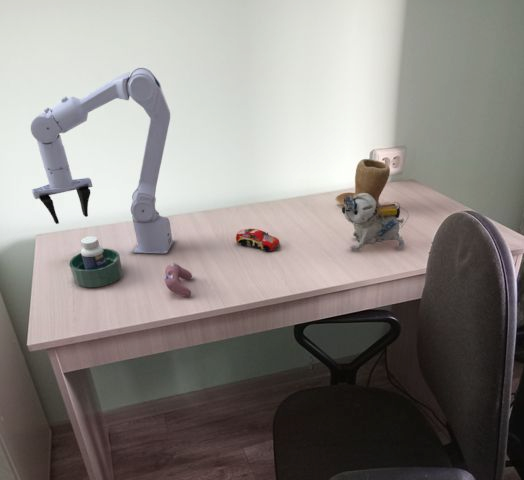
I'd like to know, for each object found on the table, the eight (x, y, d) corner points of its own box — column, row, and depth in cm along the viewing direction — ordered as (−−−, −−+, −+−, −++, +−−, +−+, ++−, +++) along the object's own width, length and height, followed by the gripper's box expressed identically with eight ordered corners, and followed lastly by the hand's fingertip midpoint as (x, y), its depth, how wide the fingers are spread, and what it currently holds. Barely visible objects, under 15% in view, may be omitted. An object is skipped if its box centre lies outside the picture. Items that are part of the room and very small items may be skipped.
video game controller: (178, 284, 125) (162, 262, 121) (193, 275, 124) (177, 254, 120) (176, 304, 117) (159, 282, 113) (192, 296, 116) (175, 273, 112)
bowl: (129, 266, 131) (126, 248, 128) (113, 289, 121) (108, 271, 118) (86, 265, 132) (81, 247, 129) (66, 288, 123) (60, 270, 119)
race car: (283, 246, 137) (283, 233, 135) (273, 254, 134) (273, 240, 131) (244, 236, 143) (243, 223, 141) (233, 243, 140) (232, 230, 137)
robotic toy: (334, 238, 140) (337, 186, 131) (393, 234, 141) (401, 181, 132) (344, 259, 130) (348, 203, 121) (409, 254, 131) (418, 198, 122)
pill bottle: (103, 281, 124) (94, 245, 118) (84, 279, 125) (73, 243, 119) (112, 270, 128) (104, 235, 122) (93, 269, 129) (84, 234, 123)
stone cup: (392, 213, 153) (399, 164, 144) (360, 220, 150) (365, 170, 140) (364, 198, 164) (369, 151, 155) (334, 204, 161) (336, 157, 152)
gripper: (80, 157, 128) (93, 208, 137) (23, 168, 122) (39, 220, 131) (89, 163, 124) (101, 215, 132) (29, 175, 118) (46, 229, 126)
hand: (71, 219), depth 131 cm, fingers open, 7 cm apart
